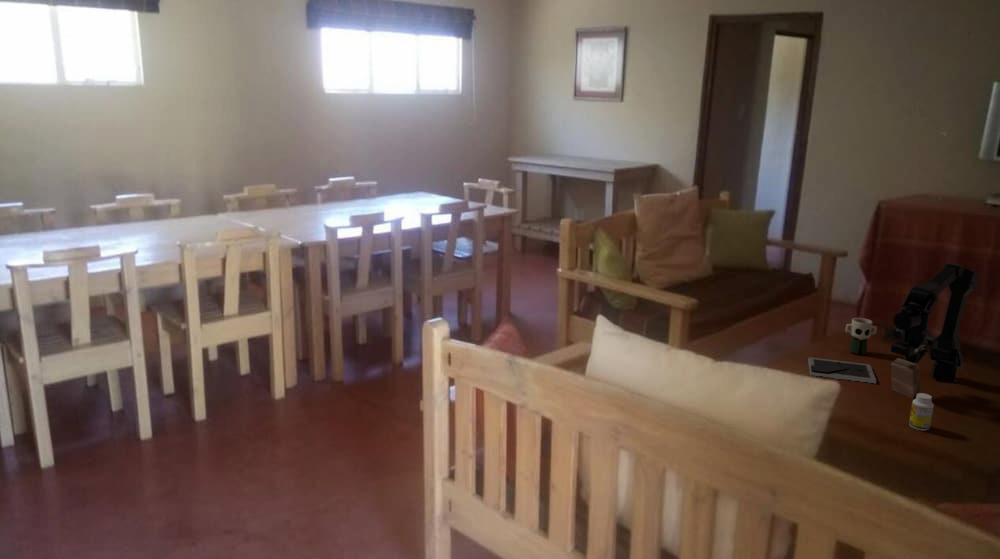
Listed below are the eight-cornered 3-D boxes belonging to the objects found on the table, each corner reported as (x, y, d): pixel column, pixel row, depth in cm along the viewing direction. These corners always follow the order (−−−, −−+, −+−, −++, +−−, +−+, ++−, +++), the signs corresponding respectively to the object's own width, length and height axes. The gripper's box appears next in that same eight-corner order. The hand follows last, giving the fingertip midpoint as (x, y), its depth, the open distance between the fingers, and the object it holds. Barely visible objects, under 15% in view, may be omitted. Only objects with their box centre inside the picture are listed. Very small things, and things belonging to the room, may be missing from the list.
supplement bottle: (910, 421, 225) (916, 390, 223) (931, 426, 222) (936, 395, 219) (906, 427, 221) (911, 396, 219) (927, 433, 218) (933, 401, 215)
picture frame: (810, 377, 260) (875, 386, 254) (811, 370, 260) (876, 378, 253) (807, 362, 275) (869, 369, 268) (808, 355, 274) (870, 362, 267)
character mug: (844, 354, 281) (849, 322, 278) (840, 348, 288) (844, 316, 285) (875, 357, 279) (880, 324, 276) (870, 350, 286) (875, 318, 283)
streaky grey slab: (898, 385, 250) (897, 357, 245) (919, 392, 244) (919, 364, 240) (891, 390, 248) (891, 363, 244) (912, 398, 243) (912, 370, 238)
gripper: (908, 314, 252) (901, 357, 256) (877, 322, 242) (871, 367, 246) (942, 323, 243) (934, 367, 247) (911, 332, 233) (903, 378, 237)
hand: (910, 369), depth 245 cm, fingers closed
